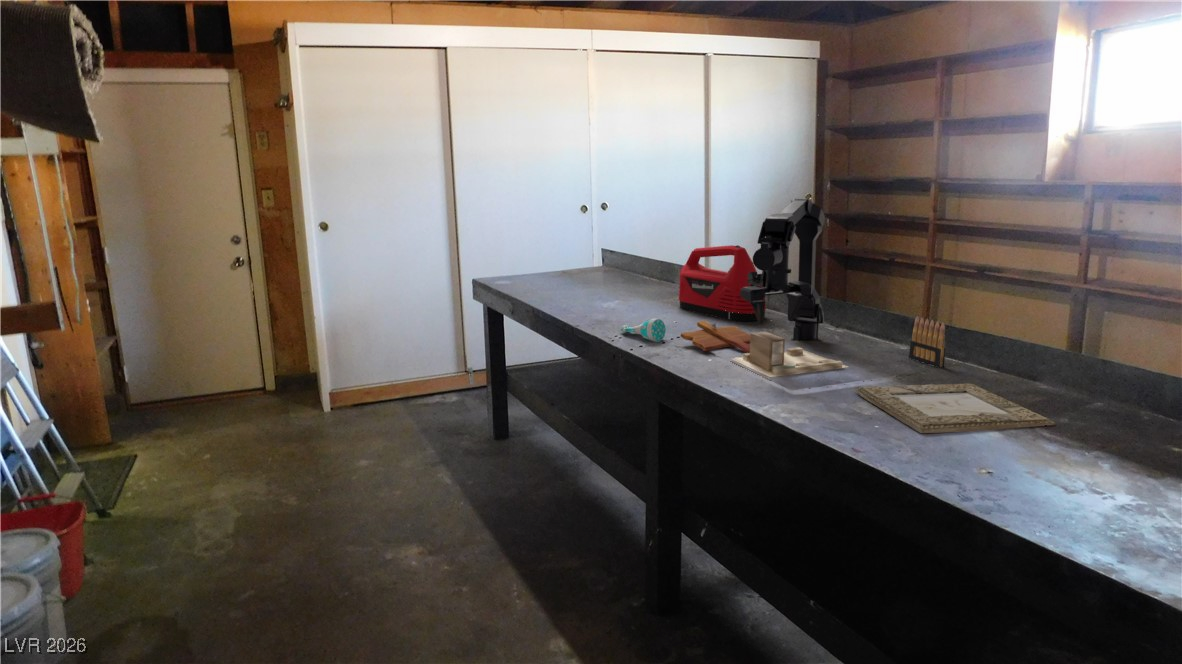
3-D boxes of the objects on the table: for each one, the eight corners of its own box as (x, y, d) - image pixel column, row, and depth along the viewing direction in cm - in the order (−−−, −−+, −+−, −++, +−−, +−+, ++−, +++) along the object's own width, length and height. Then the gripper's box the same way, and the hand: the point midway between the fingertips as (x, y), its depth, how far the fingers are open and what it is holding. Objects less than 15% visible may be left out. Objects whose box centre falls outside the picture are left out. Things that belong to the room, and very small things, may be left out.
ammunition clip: (908, 358, 201) (912, 315, 199) (913, 357, 202) (917, 315, 199) (938, 368, 192) (943, 323, 189) (944, 367, 192) (948, 322, 190)
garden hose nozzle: (624, 315, 244) (605, 321, 226) (675, 313, 238) (660, 319, 220) (626, 337, 245) (606, 344, 226) (677, 335, 239) (661, 342, 220)
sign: (789, 363, 205) (725, 330, 230) (791, 342, 203) (727, 311, 228) (732, 373, 197) (673, 338, 222) (734, 351, 195) (674, 318, 220)
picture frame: (1055, 429, 150) (1057, 417, 150) (920, 436, 146) (922, 423, 145) (970, 390, 176) (971, 379, 175) (853, 395, 171) (854, 384, 171)
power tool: (699, 301, 287) (700, 237, 281) (775, 318, 255) (778, 246, 249) (667, 306, 279) (668, 240, 273) (742, 324, 246) (745, 250, 241)
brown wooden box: (763, 360, 197) (765, 331, 195) (784, 369, 189) (785, 339, 187) (749, 362, 196) (750, 333, 194) (769, 371, 187) (770, 340, 185)
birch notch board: (804, 353, 208) (804, 342, 207) (849, 370, 190) (849, 359, 189) (730, 362, 199) (730, 351, 199) (770, 381, 182) (770, 369, 181)
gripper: (789, 257, 202) (786, 312, 206) (729, 263, 196) (728, 320, 200) (814, 263, 192) (811, 321, 196) (752, 269, 186) (751, 329, 189)
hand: (775, 322), depth 195 cm, fingers open, 9 cm apart
